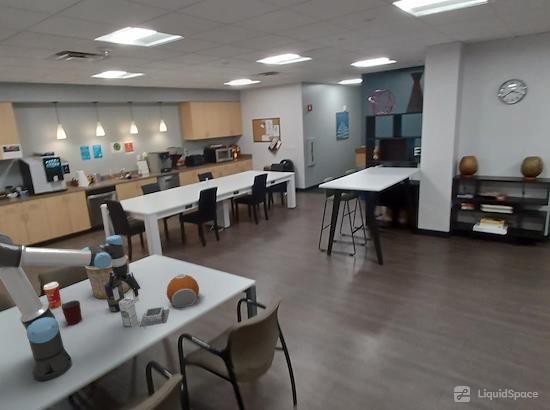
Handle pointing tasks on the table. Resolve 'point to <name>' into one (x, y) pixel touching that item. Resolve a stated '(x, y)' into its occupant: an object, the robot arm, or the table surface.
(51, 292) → the coffee cup
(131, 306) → the syrup box
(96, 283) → the planter
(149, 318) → the collar
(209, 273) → the table surface
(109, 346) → the table surface
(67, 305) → the mug
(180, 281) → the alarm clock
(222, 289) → the table surface
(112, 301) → the canister
